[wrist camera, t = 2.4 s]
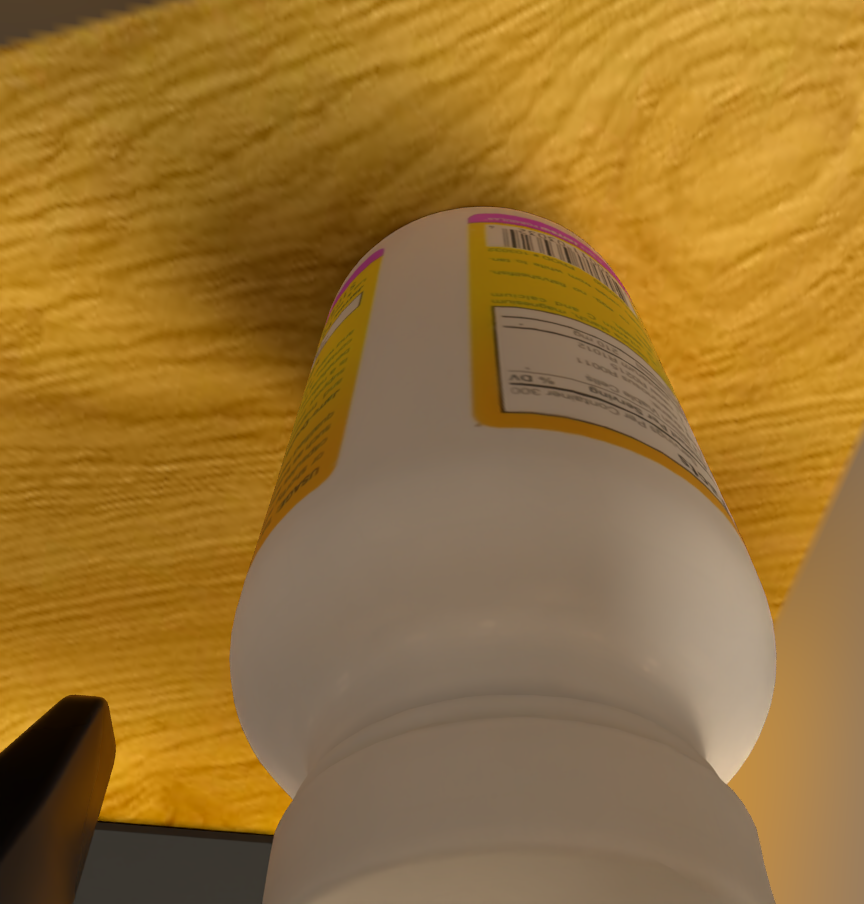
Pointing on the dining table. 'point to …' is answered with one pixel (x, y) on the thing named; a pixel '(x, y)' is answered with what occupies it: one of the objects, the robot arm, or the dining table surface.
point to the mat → (173, 866)
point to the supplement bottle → (500, 597)
